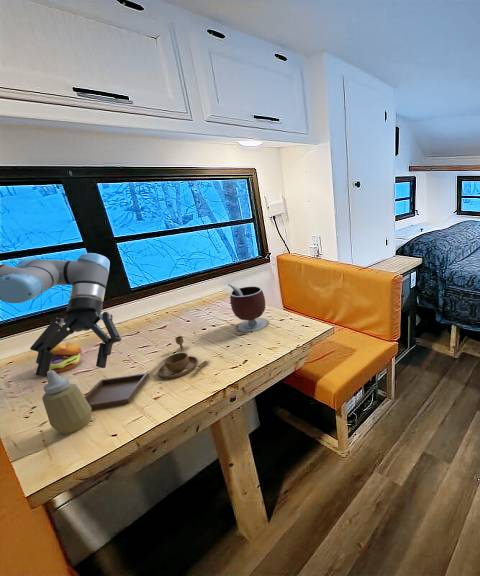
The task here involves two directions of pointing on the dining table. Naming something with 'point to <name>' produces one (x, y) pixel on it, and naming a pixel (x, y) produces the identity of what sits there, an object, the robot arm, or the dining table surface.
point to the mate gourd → (248, 307)
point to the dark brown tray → (115, 390)
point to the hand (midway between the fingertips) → (71, 371)
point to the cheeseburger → (65, 357)
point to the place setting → (179, 362)
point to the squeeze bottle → (65, 404)
